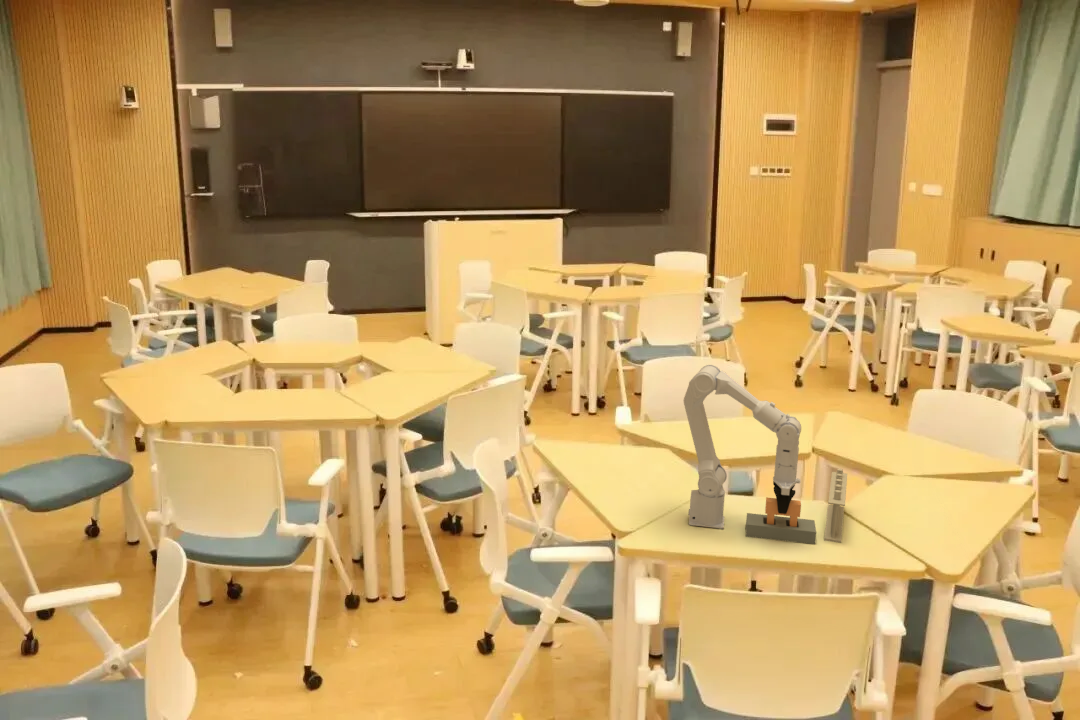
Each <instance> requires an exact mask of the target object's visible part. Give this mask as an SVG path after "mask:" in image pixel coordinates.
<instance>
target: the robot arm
mask: <svg viewBox="0 0 1080 720" xmlns="http://www.w3.org/2000/svg"><path fill="white" fill-rule="evenodd" d="M714 391H715V393H714V395H728V396H729V397H731V398H732V399H734V400H736V401H737V402H738V403H740V404H742V405H743V406H744V407H746V408H748V409H749V410H750V411H751V412H752V416H753V418H754V419H755V420H757V421H758V422H759V423H760V424H762V425H763V427H766V428H767V429H769V430H770V431H771V432H773V433H775V436H776V438H777V445H776V449H775V462H774V472H773V477H772V481H773V482H772V484H773V486H774V487H773V493H774V495H775V498H777V507H778V513H781V514H786V513H787V511H788V508H789V504H790V501H791V500H793V498H794V496H795V495H796V490H794V488H795V486H796V484H801V478H797V472H798V471H797V470H798V462H799V451H800V448H799V445H800V435H801V432H802V424H801V422H800V420H798V419H797V418H796V416H792V415H790V414H789V413H787V414H786V413H785V412H783V411H782V410H780V409H779V408H777V407H776V403H775V402H773V401H768V400H759V398H757V397H756V396H754V395H753V394H752V393H751V392H749V391H748V389H746V388H744V387H743V386H742V385H741V384H740V383H738V382H737V381H736V380H734V378H732V377H731V376H730V375H729V374H728V373H727V372H725V371H724V370H720V368H718V366H716V365H714V364H706V365H704V366H702V367H701V368H700V370H699V371H698V372H697V373H696V374H695V375H694V376H693V377H692V378H691V379H690V380H689V382H688V385H687V389H686V392H685V394H684V397H683V405H684V406H683V407H684V409H685V413H686V417H687V421H688V426H689V430H690V433H691V437H692V441H693V445H694V450H695V454H696V458H697V461H698V462H697V463H698V465H697V466H698V467H697V473H698V481H697V487H698V489H692V490H691V492H690V503H689V508H688V517H689V519H688V526H694V527H695V526H697V527H703V528H713V529H721V530H722V529H724V528H725V516H724V508H725V495H726V494H725V493H726V491H725V488H724V487H723V485H724V483H726V480H727V477H728V476H727V471H726V469H725V468H724V467H723V466H722V464H721V461H720V459H719V457H718V456H717V454H716V449H715V446H714V441H713V438H712V433H711V429H710V425H709V421H708V418H707V414H706V413H707V412H706V409H705V405H704V402H705V400H706V398H707V397H708V396H709V395H710V394H712V393H713V392H714Z"/></svg>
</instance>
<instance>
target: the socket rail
mask: <svg viewBox="0 0 1080 720" xmlns="http://www.w3.org/2000/svg"><path fill="white" fill-rule="evenodd" d="M745 519H746V520H745V521H746V522H745V537H746V538H756V539H765V540H772V541H773V540H775V541H783V542H790V543H792V542H793V543H800V544H809V545H815V544H816V541H817V539H816V538H817V529H816V523H815V519H808V518H807V519H806V518H800V517H798V519H797V527H790V524H789V520H790V516H781V515H774V525H771V524H767V514H761V513H750V512H746V518H745Z"/></svg>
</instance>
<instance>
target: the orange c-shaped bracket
mask: <svg viewBox="0 0 1080 720" xmlns="http://www.w3.org/2000/svg"><path fill="white" fill-rule="evenodd" d="M801 502H802V501H801V500H795V499H791V501H790V504H789V508H788V511H787V513H786V514H781V513H778V507H777V498H776V497H765V509H764V511H765V512H764V513H765V514H764V515H767V524H771V525H774V516H783V517H789V518H790V520H789V524H790V527H797V519H798V518H800V517H801V511H802V503H801Z"/></svg>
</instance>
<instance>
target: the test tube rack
mask: <svg viewBox="0 0 1080 720" xmlns="http://www.w3.org/2000/svg"><path fill="white" fill-rule="evenodd" d="M829 484H830V485H829V493H828V502H827V503H828V504H827V512H826V521H825V530H824V537H823V541H825V542H832V543H839V544H842V539H843V538H842V537H843V526H844V525H843V524H844V515H845V514H844V512H845V506H846V497H847V485H848V473H845V472H844V470H843V469H842V468H837V469H836V471H831V478H830V483H829Z"/></svg>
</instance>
